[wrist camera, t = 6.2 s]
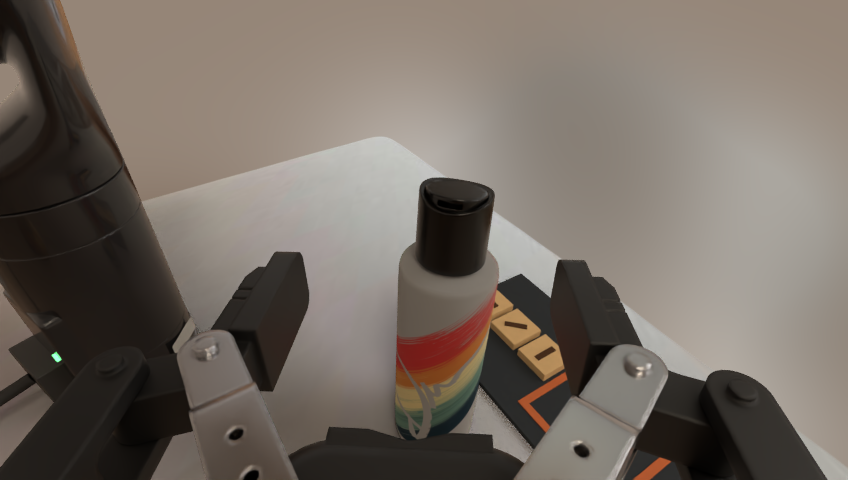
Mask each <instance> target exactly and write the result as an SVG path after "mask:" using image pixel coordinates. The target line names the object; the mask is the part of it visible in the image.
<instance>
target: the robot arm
mask: <svg viewBox="0 0 848 480" xmlns="http://www.w3.org/2000/svg"><path fill="white" fill-rule="evenodd" d="M0 64H9V65H11V66H12V67H13V68H14V70H15V71H16V73H17V75H18V78H19V84H18V85H17V87H16V88H15V90H14V91H13V92H12V93H11V94H10V95H9V96H8V97H7V98H6V99H5V100H3V101H2V102H1V103H0V283H1V285H2V286H3V287H4V289H5V290H4V292H3V293H4V296H5V297H6V298H7V300H8V301H9V303H10V304H11V305H12V307H13V308H14V309H15V311H16V312H17V313H18V315H19V316H20V317H21V319H22V320H23V321H24V323H25V324H26V325H27V327H28V328H29V329H30V331H31V332H32V334H33V336H31V337H29V338H28V339H26V340H24V341H22V342H20V343H19V344H17V345H15V346H13V347H11V348H9V351H10V353H11V354H12V355H13V356H14V357H15V359H16V360H17V361H18V362H19V364H20V365H21V366H22V367H23V369H24V370H25V371H26V372H27V373H28V374H26V375H25V376H23V377H22V378H20V379H19V380H17V381H16V382H14V383H13V384H11V385H9V386H8V387H6V388H5V389H3V390H2V391H0V406H2V405H3V404H5V403H6V402H8V401H9V400H11V399H12V398H14V397H15V396H17V395H18V394H20V393H21V392H23V391H24V390H26V389H27V388H29V387H30V386H32V385H33V384H35V383H37V385H38V386H39V387H40V388H41V389H42V390H43V391H44V392H45V393H46V394H47V395H48V396H49V397H50V399H51V400H52V401H53V402H54V403H53V404H52V406H51V407H50V408H49V409H48V410H47V412H46V413H45V414H44V415H43V417H42V418H41V419H40V420H39V421H38V423H37V424H36V425H35V426H34V427H33V429H32V430H31V431H30V432H29V433H28V435H27V436H26V437H25V438H24V439H23V441H22V442H21V443H20V444H19V445H18V447H17V448H16V449H15V450H14V451H13V453H12V454H11V455H10V456H9V457H8V459H7V460H6V461H5V462H4V464H3V465H2V466H1V467H0V480H150V479H151V477H152V475H153V473H154V471H155V470H156V468H157V466H158V464H159V462H160V460H161V458H162V456H163V454H164V452H165V450H166V449H167V447H168V445H169V443H170V441H171V439H172V437H173V436H175V435H179V434H183V433H187V432H191V431H193V432H194V436H195V440H196V443H197V447H198V451H199V455H200V459H201V462H202V466H203V470H204V474H205V478H206V480H624V478H625V476H626V474H627V472H628V469H629V467H630V465H631V463H632V461H633V459H634V457H635V455H636V453H637V451H638V450H640V451H642V452H645V453H648V454H651V455H654V456H657V457H660V458H663V459H666V460H669V461H672V462H675V464H676V467H677V470H678V472H679V475H680V478H681V480H827V478H826V477H825V475H824V474H823V472H822V471H821V469H820V467H819V466H818V464H817V463H816V461H815V460H814V458H813V457H812V455H811V454H810V452H809V451H808V449H807V447H806V446H805V444H804V443H803V441H802V440H801V438H800V437H799V435H798V434H797V432H796V431H795V429H794V428H793V426H792V424H791V423H790V422H789V420H788V418H787V417H786V415H785V414H784V412H783V411H782V409H781V408H780V406H779V404H778V403H777V401H776V400H775V398H774V397H773V395H772V394H771V393H770V392H769V391H768V390H767V388H765V387H764V386H763V385H762V384H760V383H759V382H758V381H756V380H755V379H753V378H751V377H749V376H747V375H744V374H741V373H739V372H735V371H730V370H719V371H715V372H713V373H711V374H710V375H709V376H708V378H707V380H706V382H705V381H701V380H698V379H694V378H690V377H687V376H683V375H680V374H677V373H674V372H671V371H669V370H668V369H667V367H666V365H665V363H664V362H663V361H662V360H661V358H660V357H658V356H657V355H656V354H655V353H653V352H651V351H650V350H648V349H645V348H643V346H642V344H641V342H640V340H639V338H638V336H637V334H636V332H635V330H634V327H633V325H632V323H631V321H630V319H629V317H628V315H627V313H625V309H624V307H623V305H622V303H620V298H619V296H618V294H617V292H616V290H615V288H614V287H613V286H612V285H611V284H609V283H608V282H607V281H606V280H605V279H604V278H603V277H592V275H591V273H590V271H589V268H588V266H587V264H586V262H585V261H584V260H559V261H558V263H557V267H556V273H555V278H554V283H553V289H552V294H551V301H550V314H551V320H552V324H553V327H554V331H555V335H556V339H557V342H558V346H559V350H560V354H561V357H562V361H563V365H564V369H565V372H566V376H567V380H568V384H569V387H570V391H571V395H572V397H571V398H570V399H569V401H568V402H567V403H566V405H565V406H564V408H563V409H562V411H561V412H560V413H559V415H558V416H557V418H556V419H555V421H554V422H553V423H552V425H551V426H550V428H549V429H548V431H547V432H546V434H545V435H544V436H543V438H542V439H541V441H540V442H539V444H538V445H537V446H536V448H535V449H534V451H533V452H532V454H531V455H530V456H529V458H528V459H527V461H526V462H525V464H524V463H523V462H522V461H520V460H519V459H517V458H515V457H514V456H512V455H510V454H508V453H505V452H503V451H501V450H498V449H495V448H493V439H492V435H486V434H465V433H448V434H443V435H438V436H432V437H427V438H422V439H417V440H404V439H400V438H397V437H394V436H390V435H387V434H384V433H380V432H377V431H374V430H370V429H359V428H338V427H329V429H328V433H327V437H326V440H324V441H320V442H316V443H313V444H310V445H308V446H306V447H303V448H301V449H299V450H297V451H296V452H294V453H292V454H291V455H289V456H288V455H287V452H286V450H285V448H284V446H283V443H282V441H281V439H280V437H279V434H278V432H277V430H276V428H275V425H274V423H273V421H272V419H271V416H270V414H269V412H268V410H267V407H266V405H265V403H264V400H263V398H262V396H261V394H260V391H272V392H273V390H274V387H275V385H276V383H277V380H278V378H279V375H280V373H281V371H282V368H283V366H284V364H285V361H286V359H287V356H288V354H289V352H290V349H291V347H292V345H293V342H294V340H295V337H296V335H297V333H298V330H299V328H300V326H301V323H302V321H303V318H304V316H305V314H306V311H307V308H308V304H309V289H308V284H307V278H306V273H305V267H304V262H303V257H302V254H301V253H300V252H275V253H274V254H273V256H272V258H271V259H270V261H269V262H268V264H267V266H266V267H258V268H256V269H255V270H254V271H252V272H251V273H250V274H248V275H247V276H246V277H245V278H244V280H243V281H242V283H241V284H240V286H239V287H238V290H236V292H235V293H234V295H233V296H232V299H231V300H230V301H229V303H228V304H227V306H226V307H225V309H224V310H223V312H222V313H221V315H220V316H219V318H218V319H217V321H216V322H215V324H214V325H213V327H212V328H211V330H209V331H205V332H202V333H199V334H198V332H197V329H196V326H195V324H194V322H193V319H192V317H190V314H189V312H188V311H187V309H186V306H185V304H184V301H183V299H182V297H181V294H180V292H179V290H178V287H177V285H176V282H175V280H174V278H173V275H172V273H171V271H170V268H169V266H168V263H167V261H166V259H165V256H164V254H163V252H162V249H161V247H160V244H159V242H158V240H157V237H156V235H155V233H154V230H153V228H152V225H151V223H150V221H149V218H148V216H147V214H146V211H145V209H144V207H143V204H142V202H141V199H140V197H139V195H138V192H137V190H136V187H135V185H134V183H133V180H132V178H131V176H130V173H129V171H128V168H127V166H126V164H125V161H124V159H123V157H122V154H121V152H120V150H119V148H118V145H117V143H116V141H115V139H114V136H113V134H112V132H111V130H110V128H109V126H108V124H107V121H106V119H105V117H104V115H103V112H102V110H101V108H100V105H99V103H98V100H97V98H96V96H95V93H94V91H93V88H92V86H91V84H90V81H89V79H88V76H87V74H86V71H85V68H84V66H83V63H82V60H81V57H80V55H79V52H78V49H77V47H76V44H75V41H74V38H73V36H72V33H71V30H70V27H69V24H68V21H67V19H66V16H65V13H64V10H63V7H62V5H61V2H60V0H0Z"/></svg>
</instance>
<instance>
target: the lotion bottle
mask: <svg viewBox="0 0 848 480" xmlns="http://www.w3.org/2000/svg"><path fill="white" fill-rule="evenodd" d="M494 198H495V194H494V191H493V190H492V189H490V188H489V187H487V186H485V185H482V184H478V183H474V182H470V181H464V180H459V179H451V178H430V179H427V180H425V181H424V182H422V184H421V185H420V189H419V201H418V216H417V231H416V242H415V243H413V244H412V245H410V246H409V247H408V248H407V249H406V250H405V251H404V253H403V254H402V256H401V259H400V263H399V276H398V311H397V352H396V394H395V420H396V426H397V430H398V433H399V435H400V437H401V438H402V439H404V440H417V439H422V438H427V437H432V436H438V435H443V434H448V433H465V434H468V433H469V430H470V427H471V423H472V418H473V413H474V408H475V403H476V397H477V392H478V387H479V381H480V376H481V371H482V366H483V360H484V355H485V350H486V344H487V339H488V334H489V329H490V323H491V318H492V313H493V307H494V302H495V296H496V291H497V285H498V278H499V267H498V263H497V261H496V259H495V258H494V256H493V255H492V254H491V253H490V252H489V251H488V250H487V247H488V240H489V233H490V227H491V220H492V213H493V206H494Z"/></svg>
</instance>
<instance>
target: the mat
mask: <svg viewBox="0 0 848 480" xmlns="http://www.w3.org/2000/svg"><path fill="white" fill-rule="evenodd" d="M550 301H551V298H550V297H549V296H547V295H546V294H545V293H544V292H543V291H541V290H540V289H539V288H538V287H537V286H535V285H534V284H533V283H532V282H531V281H529V280H528V279H527V278H526V277H525V276H523V275H522V274H519V275H517V276H515V277H513V278H511V279H508V280H506V281H504V282H502V283H499V284H498V285H497V291H496V296H495V302H494V307H493V313H492V318H491V323H490V329H489V334H488V339H487V344H486V350H485V355H484V360H483V366H482V371H481V376H480V381H479V385H480V386H481V387H482V388H483V389H484V391H485V392H486V393H487V394H488V395H489V396H490V398H491V399H492V400H493V401H494V402H495V404H496V405H497V406H498V407H499V408H500V409H501V411H502V412H503V413H504V414H505V415H506V417H507V418H508V419H509V420H510V421H511V423H512V424H513V425H514V426H515V427H516V428H517V430H518V431H519V432H520V433H521V434H522V436H523V437H524V438H525V439H526V440H527V441H528V443H529V444H530V445H531V446H532V447H533V449H535V448H536V446H537V445H538V444H539V442H540V441H541V439H542V438H543V436H544V435H545V434H546V432H547V431H548V429H549V428H550V426H551V425H552V423H553V422H554V421H555V419H556V418H557V416H558V415H559V413H560V412H561V411H562V409H563V408H564V406H565V405H566V403H567V402H568V401H569V399H570V398H571V397H572V395H571V391H570V387H569V384H568V380H567V376H566V372H565V369H564V365H563V361H562V357H561V354H560V350H559V346H558V342H557V339H556V335H555V331H554V327H553V324H552V320H551V314H550ZM624 480H681V478H680V475H679V472H678V470H677V467H676V464H675V462H672V461H669V460H666V459H663V458H660V457H657V456H654V455H651V454H648V453H645V452H642V451H640V450H638V451H637V453H636V455H635V457H634V459H633V461H632V463H631V465H630V467H629V469H628V472H627V474H626V476H625V478H624Z"/></svg>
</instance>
